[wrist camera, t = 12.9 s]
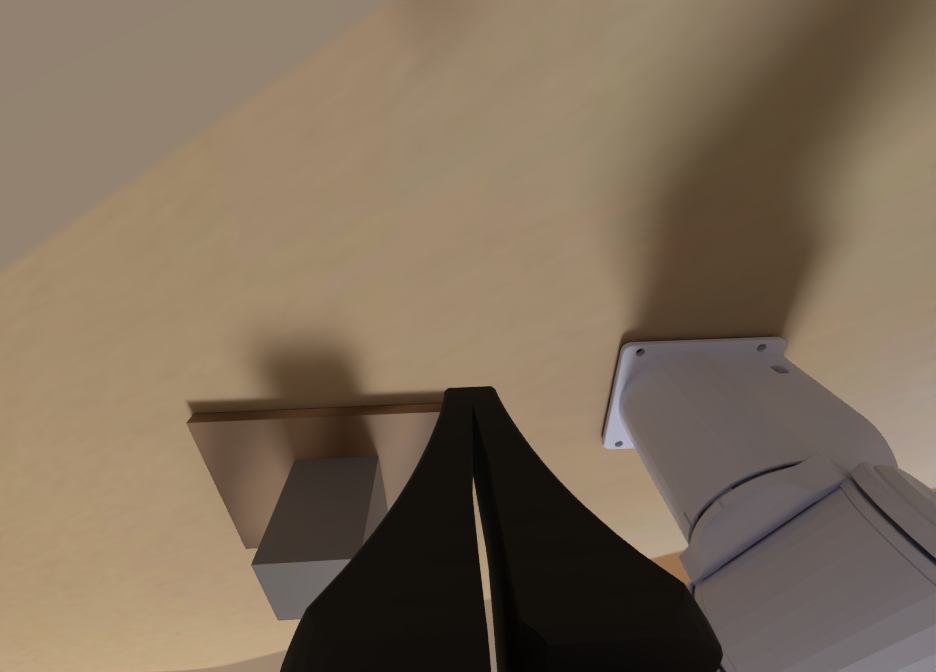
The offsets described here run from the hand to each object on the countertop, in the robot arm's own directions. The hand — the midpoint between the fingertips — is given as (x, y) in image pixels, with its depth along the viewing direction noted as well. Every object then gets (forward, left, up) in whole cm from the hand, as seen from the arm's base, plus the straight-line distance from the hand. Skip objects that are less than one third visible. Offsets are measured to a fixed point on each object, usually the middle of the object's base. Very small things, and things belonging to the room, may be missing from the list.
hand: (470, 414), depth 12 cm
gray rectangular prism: (+8, +14, -10) cm, 19 cm away
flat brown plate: (+8, +14, -10) cm, 19 cm away
